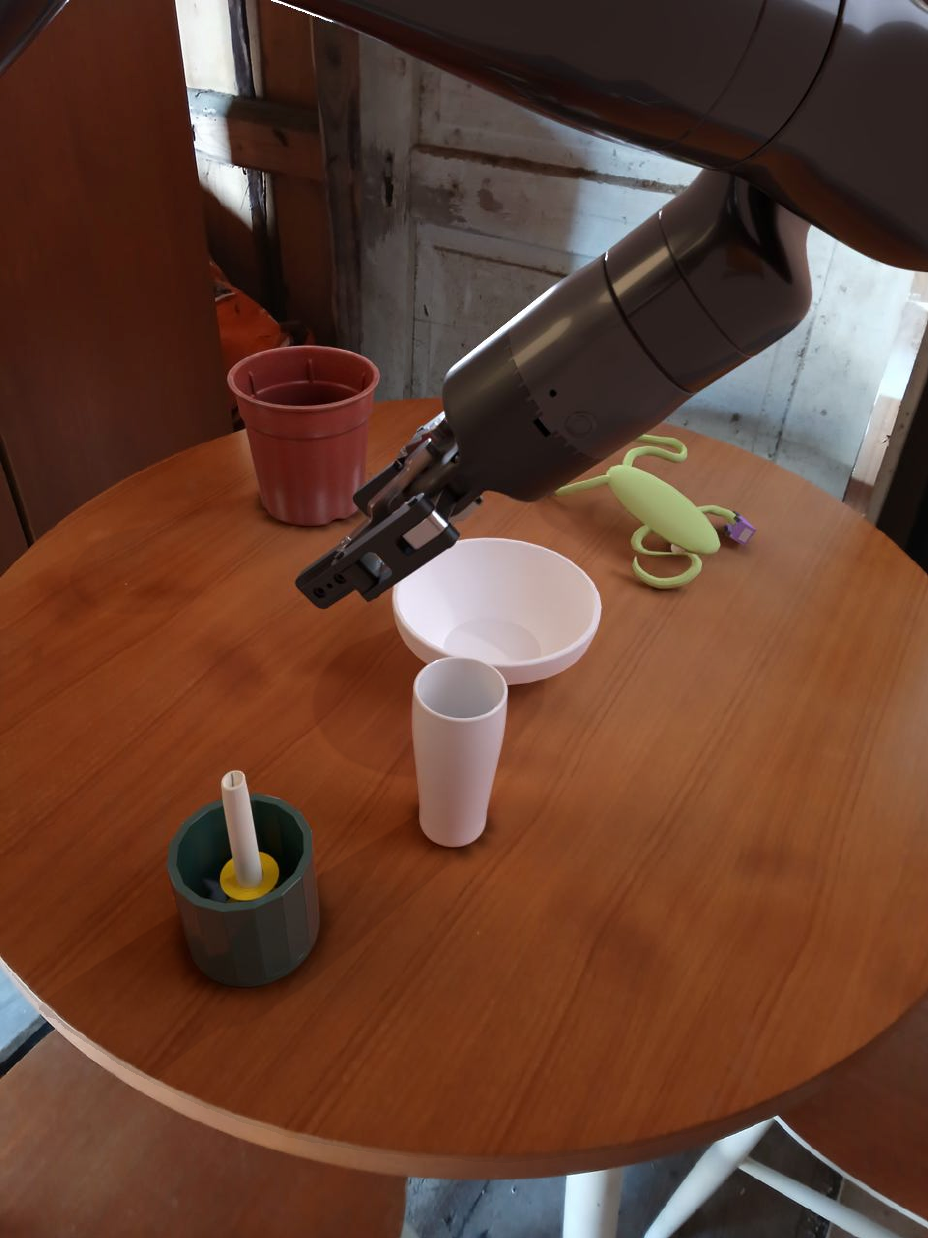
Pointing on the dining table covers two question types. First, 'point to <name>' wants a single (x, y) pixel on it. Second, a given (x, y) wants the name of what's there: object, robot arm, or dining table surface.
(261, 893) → the candle
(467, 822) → the drinking glass
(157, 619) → the dining table surface
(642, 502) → the figurine
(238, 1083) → the dining table surface
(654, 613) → the dining table surface
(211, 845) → the cup
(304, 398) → the flower pot
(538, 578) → the bowl
